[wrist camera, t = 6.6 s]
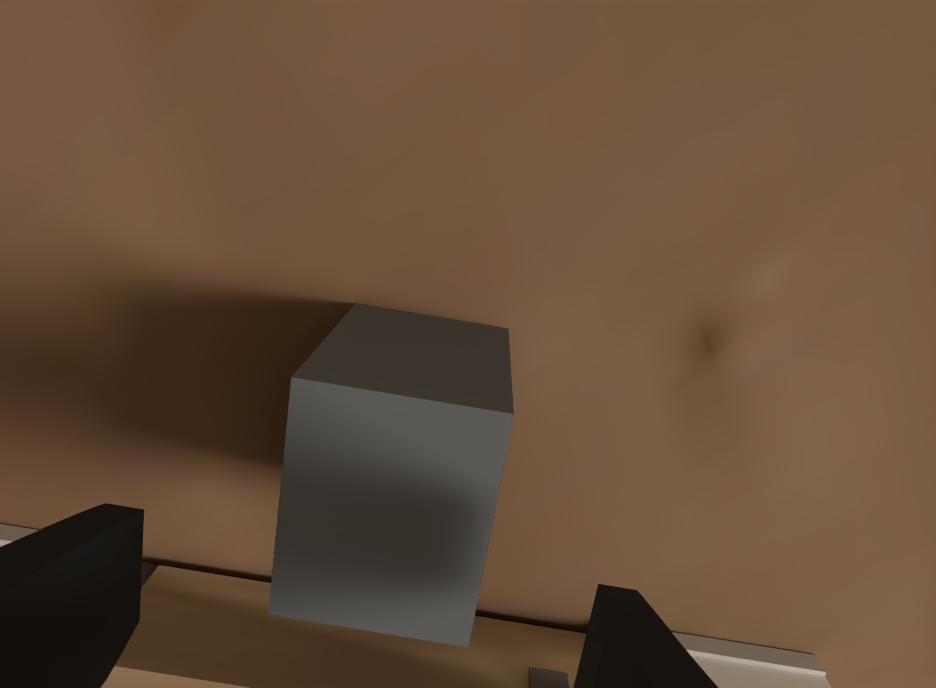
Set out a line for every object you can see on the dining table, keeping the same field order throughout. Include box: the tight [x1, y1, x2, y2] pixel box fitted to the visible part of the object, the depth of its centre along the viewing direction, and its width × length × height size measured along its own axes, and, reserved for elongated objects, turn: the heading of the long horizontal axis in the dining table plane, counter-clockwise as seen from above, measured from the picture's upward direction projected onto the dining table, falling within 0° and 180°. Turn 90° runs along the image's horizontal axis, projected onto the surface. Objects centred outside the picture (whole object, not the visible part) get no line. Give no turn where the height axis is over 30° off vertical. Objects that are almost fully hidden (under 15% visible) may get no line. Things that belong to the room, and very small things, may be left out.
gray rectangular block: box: [268, 303, 514, 647], centre depth 16 cm, size 5×4×6 cm
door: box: [101, 562, 586, 688], centre depth 19 cm, size 2×14×4 cm, turn 81°
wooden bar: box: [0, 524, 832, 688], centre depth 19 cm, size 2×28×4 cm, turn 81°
